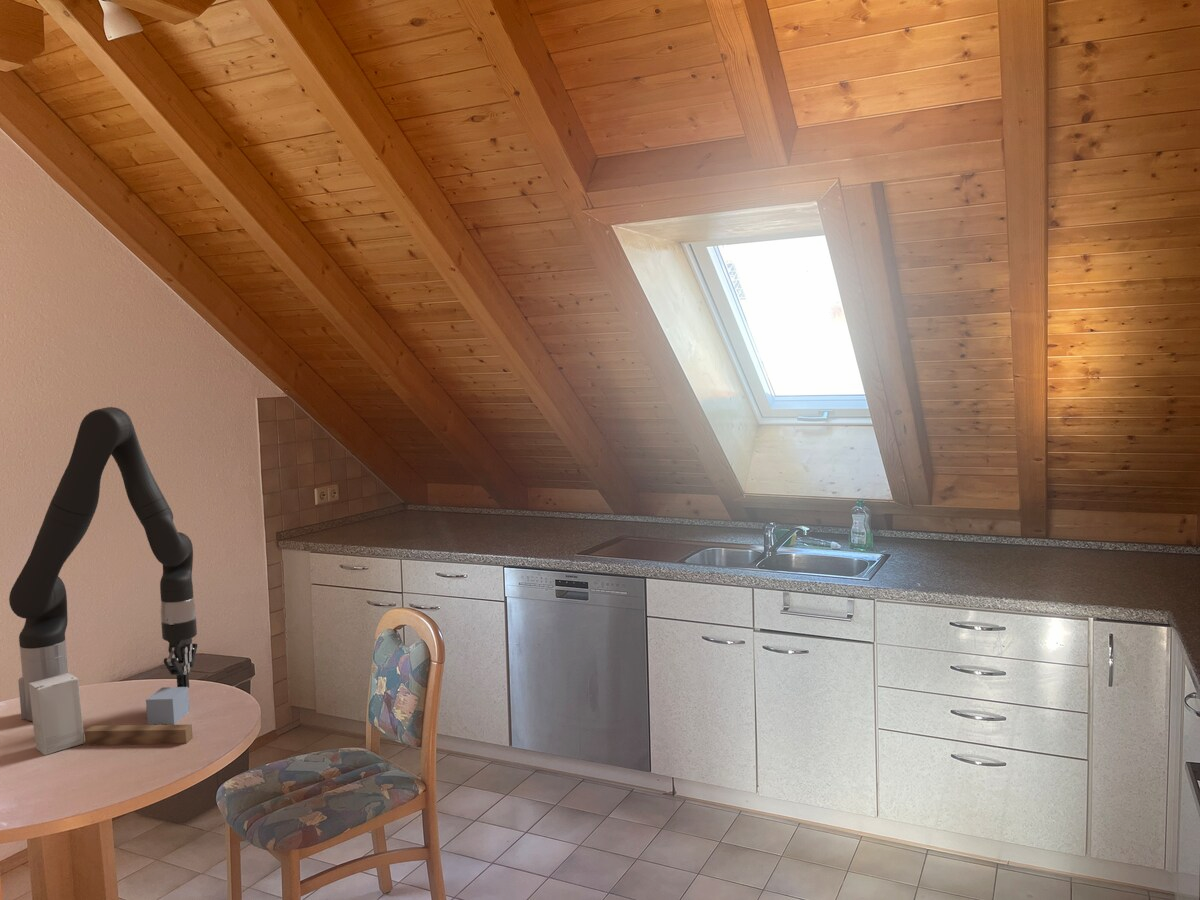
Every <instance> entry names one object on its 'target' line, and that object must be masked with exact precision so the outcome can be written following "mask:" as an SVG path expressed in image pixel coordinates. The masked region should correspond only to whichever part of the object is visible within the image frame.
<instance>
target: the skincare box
mask: <svg viewBox="0 0 1200 900" xmlns="http://www.w3.org/2000/svg"><path fill="white" fill-rule="evenodd" d="M79 681H80V680H79V678H78V677H76V676H75V675H73V674H71V673H70V672H68V673H65V674H62V675H58V676H55V677H51V678H47V679H44V680H40V681H36V682H32V683H29V692H30V701H31V709H32V718H33V721H32V726H33V733H34V743H35V749H37V751H38V752H40V753H41V754H42V755H44V756H47V755H50V754H54V753H56V752H60V751H64V750H67V749H71V748H72V747H77V746H79V745H82V744H85V735H84V731H85V730H84V725H83V715H82V714H83V713H82V704H81V694H80V684H79Z"/></svg>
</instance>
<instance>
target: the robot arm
mask: <svg viewBox="0 0 1200 900" xmlns="http://www.w3.org/2000/svg"><path fill="white" fill-rule="evenodd" d="M132 421H133V420H132V419H131V417H130V416H129V414H128V413H127V412H126V411H124V410H123V409H121V408H118V407H114V406H108V407H107V406H106V407H102V408H97V409H95V410H94V409H93V410H92V411H90V412H88V413H87V414H86V415H85V417H83V419H82V420H81V422H80V425H79V427H78V431H77V433H76V434H77V435H76V439H75V442H74V445H73V449H72V452H71V456H70V458H69V461H68V463H67V465H66V468H65V470H64V472H63V474H62V476H61V478H60V481H59V483H58V486H57V488H56V490H55V492H54V494H53V496H52V498H51V501H50V503H49V505H48V507H47V510H46V513H45V516H44V518H43V521H42V524H41V525H40V529H39V531H38V534H37V536H36V539H35V540H34V541H35V542H34V544H33V546H32V549H31V551H30V553H29V556H28V558H27V561H26V563H25V564H24V566H23V568H22V569H21V571H20V573H19V574H18V576H17V578H16V580H15V581H14V584H12V585H13V586H12V587H11V589H10V592H9V597H8V598H9V599H8V602H9V606H10V609H11V611H12V612H13V614H15V616H17V617H19V618H20V619H25V621H24V625H23V628H22V630H21V631H20V633H19V636H18V644H19V645H18V646H19V652H20V653H19V655H20V664H21V677H20V678H18V681H17V682H18V692H19V706H20V716H21V720H27V721H29V722H33V718H32V709H31V701H30V692H29V683H32V682H36V681H40V680H44V679H47V678H51V677H55V676H58V675H62V674H65V673H69V666H68V657H67V642H66V629H67V627H68V621H69V619H68V596H67V590H66V589H67V588H66V585H65V583H64V582H63V580H62V579H61V577H60V576H59V574H60V573H61V570H62V568H63V566H64V564H65V563H66V561H67V559H69V557H70V556H71V555H72V553H73V552H74V550H75V549H76V548H77V547H78V545H79V544H80V542H81V541H82V539H83V538H84V536H86V533H87V532H88V529H89V527H90V525H91V523H92V521H93V518H94V515H95V513H96V510H97V507H98V504H99V498H100V491H101V490H100V489H101V479H102V475H103V474H104V473H103V472H104V469H105V467H106V466H107V464H108V461H109V459H110V458H111V456H112V458H113V460H114V461H115V463H116V465H117V467H118V469H119V471H120V474H121V477H122V480H123V485H124V489H125V492H126V496H127V498H128V500H129V501H128V502H129V503H130V506H131V508H132V510H133V511H134V513H135V515H136V517H137V518H138V521H139V523H140V524H141V525H142V527H143V529H144V532H145V536H146V538H147V541H148V544H149V548H150V549H151V551H152V554H153V555H154V557H155V558H156V560H157V561H158V562H159V563H161V565H162V575H161V579H160V581H159V587H160V588H159V591H160V621H161V624H160V625H161V636H162V640H163V641H166V642H168V650H167V651H168V654H169V655H168V656H167V657H164V659H163V664H164V665H165V667H166V669H167V670H168V672H169V673H170V675H171V676H176V686H177V687H188V689H189V688H190V675H189V673H190V671H191V668H193V667H194V663H195V660H196V659H195V658H196V654H197V651H198V643H193V639H194V637H196V636H197V635H198V629H197V616H196V613H197V612H196V603H195V597H194V587H193V585H194V584H193V562H194V548H193V543H192V540H191V539H190V536H188V535H187V534H185V533H183V532H180V531H178V530H177V528H176V525H175V523H174V514H173V510H172V509H171V507H170V505H169V503H168V502H167V500H166V498H165V495H164V494H163V493H162V491H161V489H160V487H159V485H158V482H157V481H156V480H155V478H154V475H153V473H152V471H151V468H150V467H149V465H148V463H147V459H146V457H145V455H144V453H143V450H142V448H141V445H140V442H139V438H138V435H137V432H136V428H135V426H134V424H133V422H132Z"/></svg>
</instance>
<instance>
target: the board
mask: <svg viewBox="0 0 1200 900" xmlns="http://www.w3.org/2000/svg"><path fill="white" fill-rule="evenodd" d="M83 731H84V741H85V743H84V745H85V746H87V745H92V746H93V745H95V746H97V745H153V744H155V745H156V744H157V745H159V744H161V745H162V744H163V745H164V744H165V745H166V744H170V745H171V744H173V745H174V744H188V743H189V742H191V740H192V739H193V737H194V736H193V724H192V723H191V724H189V723H188V724H169V725H148V724H133V725H132V724H130V725H129V724H125V725H120V724H119V725H118V724H117V725H91V726H90V727H87V729H85V730H83Z"/></svg>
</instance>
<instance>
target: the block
mask: <svg viewBox="0 0 1200 900" xmlns="http://www.w3.org/2000/svg"><path fill="white" fill-rule="evenodd" d="M189 700H190V699H189V688H188V687H176V686H175V687H174V686H171V687H169V686H168V687H167V686H166V687H161V688H160V689H158V690H156V692H154V693H153V694H152V695H150V696H149V697H147V698H146V699H145V702H146V703H145V705H146V719H147V725H154V724H156V725H159V724H167V725H176V724H177V723H178V722H179V721H180V720H181V719H182V718H184V717H185V716H186V715H187V714H188V713H189V712H190V701H189ZM176 722H177V723H176Z"/></svg>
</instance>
